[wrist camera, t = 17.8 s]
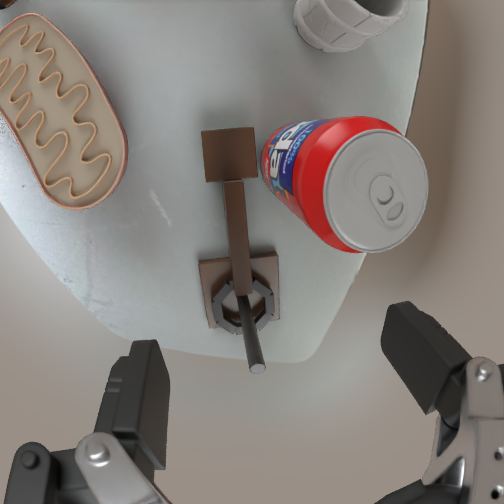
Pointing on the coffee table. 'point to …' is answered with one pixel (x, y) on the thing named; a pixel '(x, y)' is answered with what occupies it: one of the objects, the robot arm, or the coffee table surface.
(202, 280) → the peg stand
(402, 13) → the mug
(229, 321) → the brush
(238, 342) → the coffee table surface
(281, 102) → the coffee table surface
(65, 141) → the mitochondrion model
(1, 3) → the sunglasses case
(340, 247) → the soda can
